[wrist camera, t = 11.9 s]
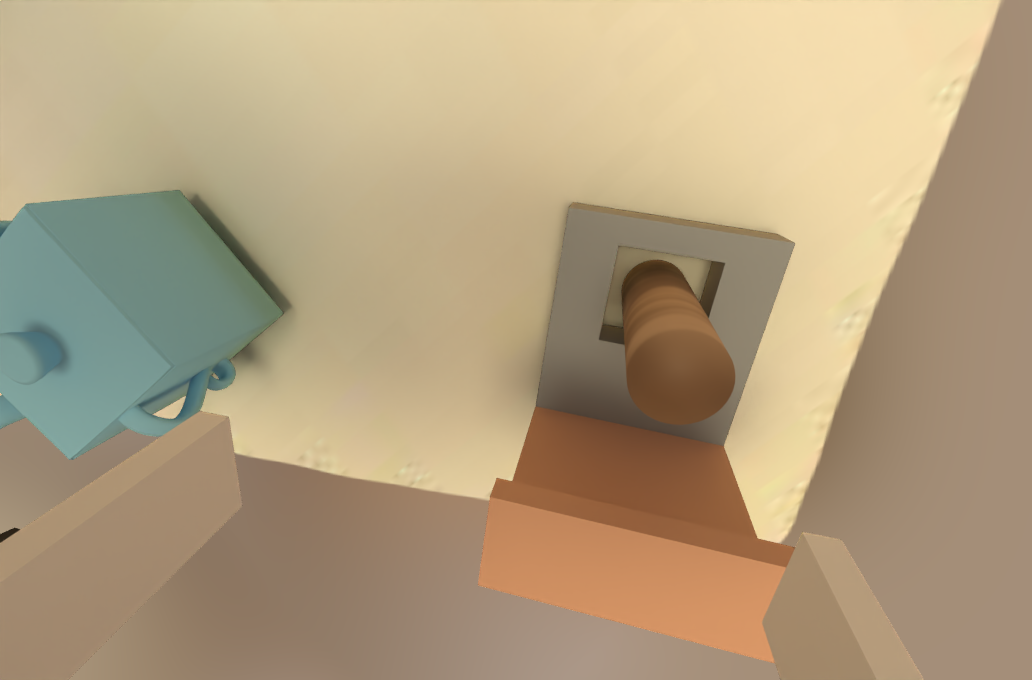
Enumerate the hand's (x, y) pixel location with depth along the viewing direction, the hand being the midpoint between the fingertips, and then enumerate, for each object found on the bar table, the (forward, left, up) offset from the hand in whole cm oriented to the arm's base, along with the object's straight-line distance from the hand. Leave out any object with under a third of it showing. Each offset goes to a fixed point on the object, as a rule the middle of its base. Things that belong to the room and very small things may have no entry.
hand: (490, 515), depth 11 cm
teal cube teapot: (+8, -30, -22) cm, 38 cm away
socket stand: (+2, +5, -22) cm, 23 cm away
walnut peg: (0, +5, -22) cm, 23 cm away
